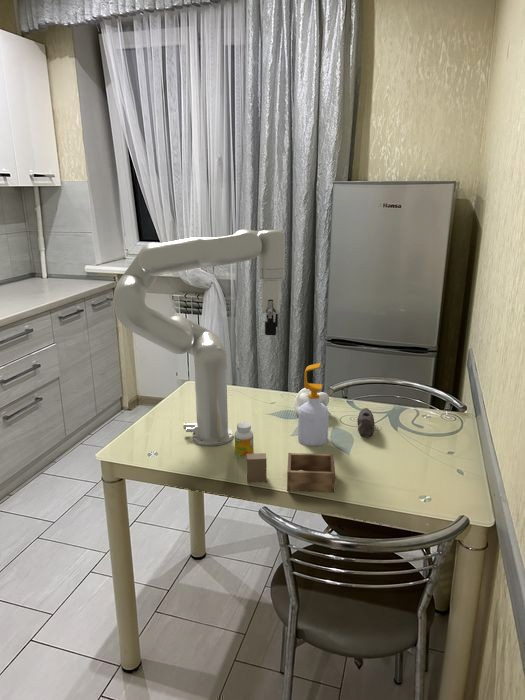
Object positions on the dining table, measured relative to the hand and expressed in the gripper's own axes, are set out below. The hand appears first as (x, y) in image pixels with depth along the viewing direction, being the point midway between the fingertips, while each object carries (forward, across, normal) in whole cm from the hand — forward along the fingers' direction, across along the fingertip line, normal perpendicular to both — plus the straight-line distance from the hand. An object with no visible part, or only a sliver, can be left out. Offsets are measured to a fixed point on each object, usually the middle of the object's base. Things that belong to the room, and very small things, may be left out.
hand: (271, 330), depth 159 cm
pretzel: (+34, -14, +12) cm, 38 cm away
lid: (+34, +30, -2) cm, 45 cm away
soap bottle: (+34, +5, +13) cm, 36 cm away
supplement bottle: (+34, +16, -7) cm, 38 cm away
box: (+33, +30, +12) cm, 46 cm away
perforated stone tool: (+34, -3, +30) cm, 45 cm away
